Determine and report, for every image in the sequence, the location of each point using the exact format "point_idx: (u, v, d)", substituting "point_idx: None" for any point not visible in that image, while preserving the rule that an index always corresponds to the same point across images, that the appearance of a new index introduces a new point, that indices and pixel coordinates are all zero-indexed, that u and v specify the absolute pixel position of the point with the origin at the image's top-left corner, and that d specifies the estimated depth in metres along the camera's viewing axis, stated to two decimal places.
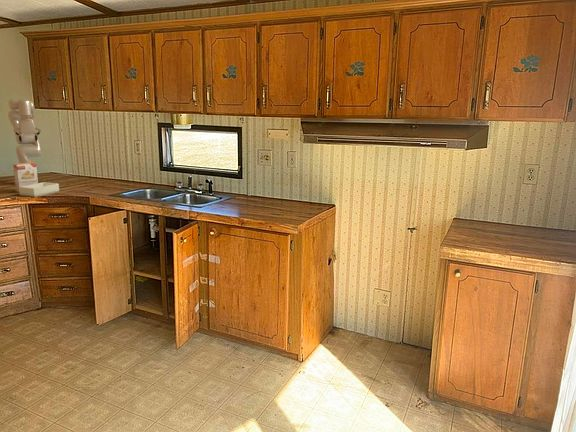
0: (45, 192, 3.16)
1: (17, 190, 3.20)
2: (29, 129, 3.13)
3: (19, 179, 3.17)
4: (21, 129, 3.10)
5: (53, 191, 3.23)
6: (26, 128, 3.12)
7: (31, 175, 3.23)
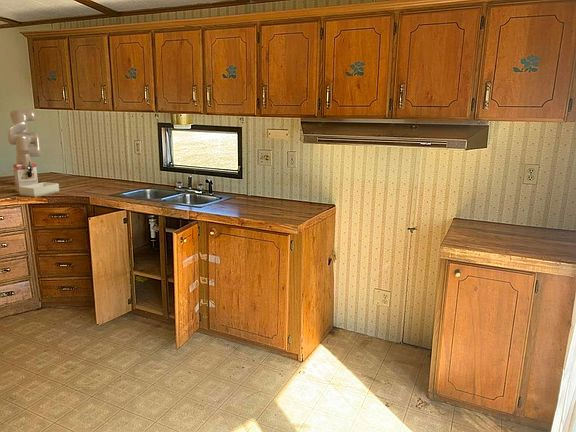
0: (45, 192, 3.16)
1: (17, 190, 3.20)
2: None
3: (19, 179, 3.17)
4: None
5: (53, 191, 3.23)
6: None
7: None
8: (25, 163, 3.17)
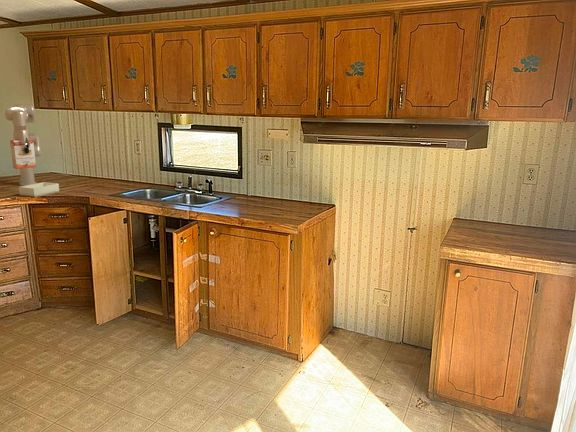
0: (45, 192, 3.16)
1: (14, 166, 3.16)
2: None
3: (16, 155, 3.13)
4: None
5: (53, 191, 3.23)
6: None
7: None
8: (22, 139, 3.13)
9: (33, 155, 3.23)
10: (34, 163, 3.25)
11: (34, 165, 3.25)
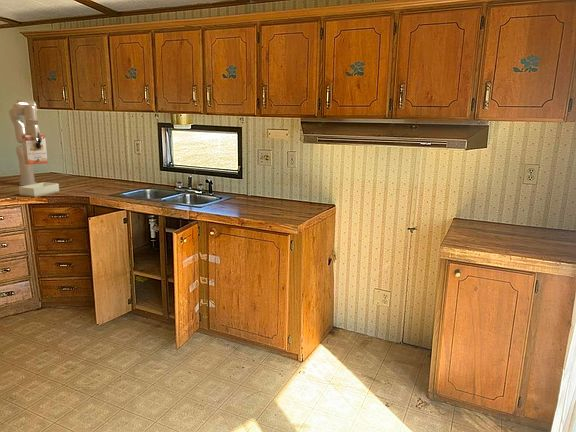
0: (45, 192, 3.16)
1: (25, 162, 3.09)
2: None
3: (28, 150, 3.06)
4: None
5: (53, 191, 3.23)
6: None
7: None
8: (34, 134, 3.05)
9: (45, 150, 3.15)
10: (46, 159, 3.17)
11: (46, 161, 3.17)
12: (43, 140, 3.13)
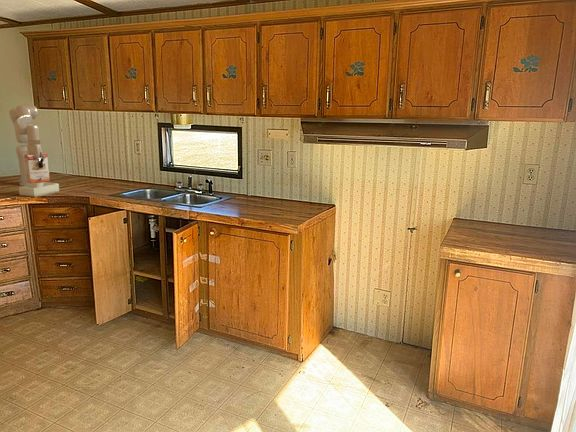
0: (45, 192, 3.16)
1: (28, 181, 3.12)
2: None
3: (30, 170, 3.09)
4: None
5: (53, 191, 3.23)
6: None
7: None
8: (36, 153, 3.09)
9: (47, 169, 3.19)
10: (48, 177, 3.20)
11: (48, 179, 3.21)
12: (45, 159, 3.16)
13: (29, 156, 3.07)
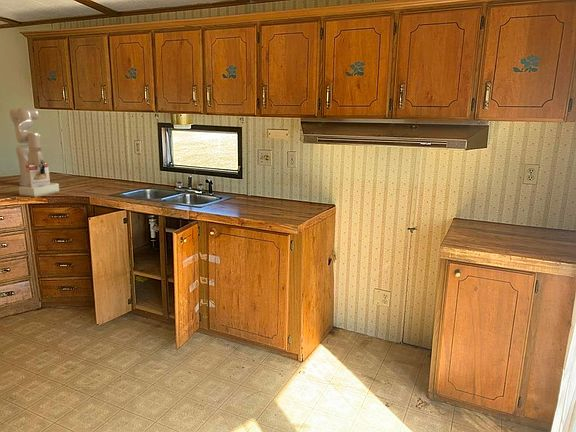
0: (45, 192, 3.16)
1: None
2: None
3: (31, 180, 3.11)
4: None
5: (53, 191, 3.23)
6: None
7: (43, 175, 3.17)
8: (37, 161, 3.10)
9: (48, 179, 3.21)
10: None
11: None
12: (46, 169, 3.19)
13: (31, 166, 3.09)
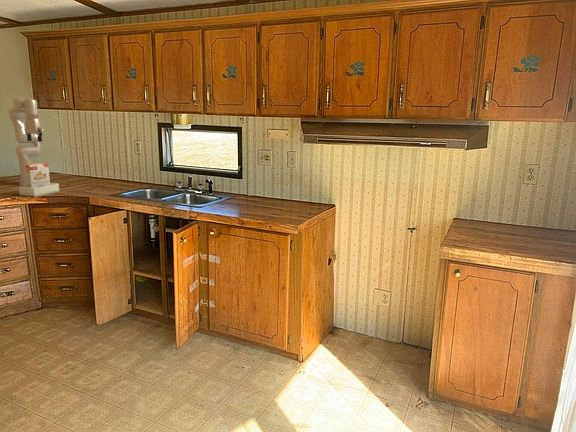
0: (45, 192, 3.16)
1: None
2: None
3: (31, 180, 3.11)
4: None
5: (53, 191, 3.23)
6: None
7: (43, 175, 3.17)
8: (34, 128, 3.06)
9: (48, 179, 3.21)
10: None
11: None
12: (46, 169, 3.19)
13: (31, 166, 3.09)
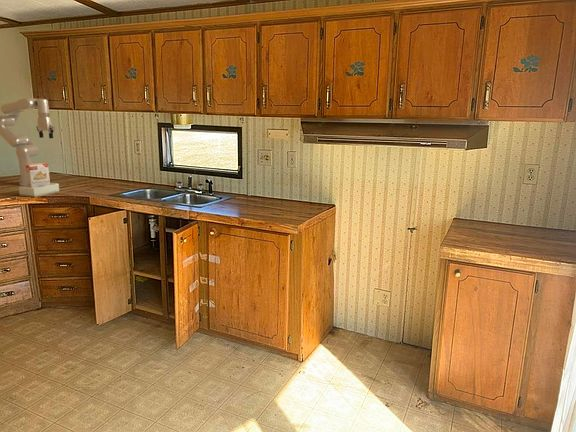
0: (45, 192, 3.16)
1: None
2: None
3: (31, 180, 3.11)
4: None
5: (53, 191, 3.23)
6: None
7: (43, 175, 3.17)
8: (46, 125, 3.31)
9: (48, 179, 3.21)
10: None
11: None
12: (46, 169, 3.19)
13: (31, 166, 3.09)
